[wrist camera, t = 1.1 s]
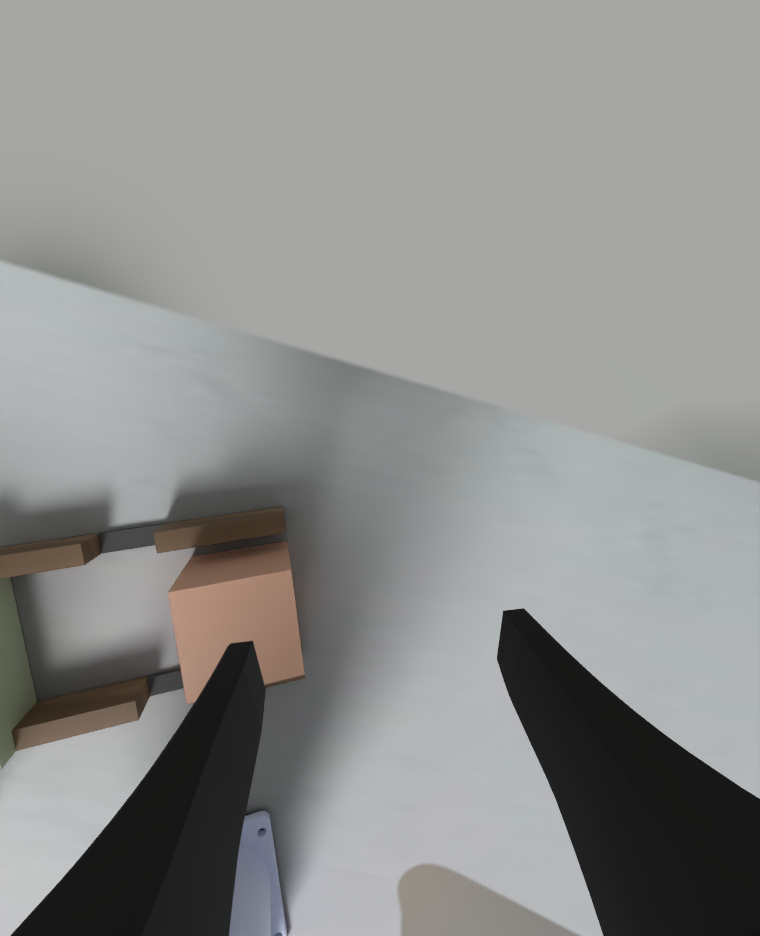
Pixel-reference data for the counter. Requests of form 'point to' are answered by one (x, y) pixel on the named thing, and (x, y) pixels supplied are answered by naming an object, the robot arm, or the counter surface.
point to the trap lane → (34, 723)
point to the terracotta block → (236, 613)
